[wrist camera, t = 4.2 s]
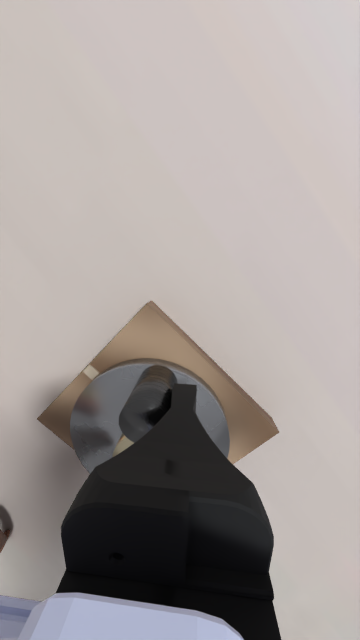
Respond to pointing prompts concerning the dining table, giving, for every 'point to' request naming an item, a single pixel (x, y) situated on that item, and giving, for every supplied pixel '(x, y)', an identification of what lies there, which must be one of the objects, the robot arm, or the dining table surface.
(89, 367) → the walnut base
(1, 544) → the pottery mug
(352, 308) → the dining table surface
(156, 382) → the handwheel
